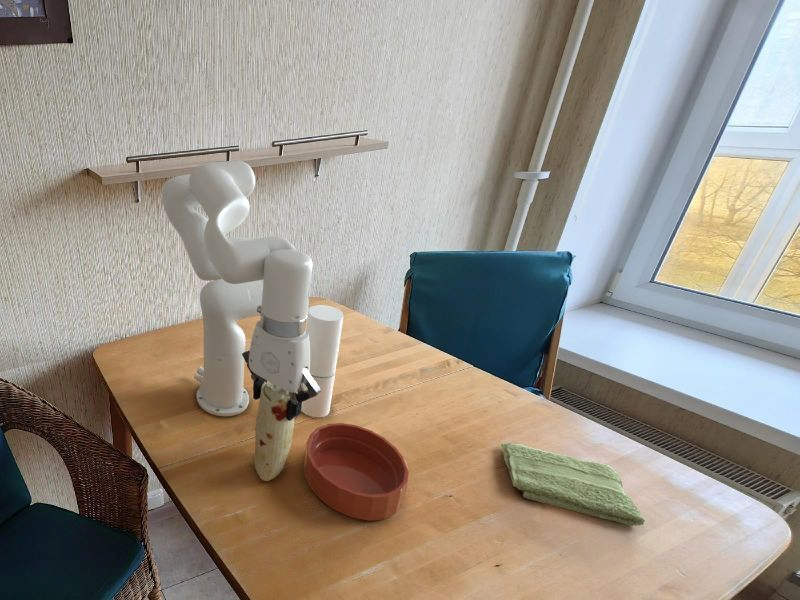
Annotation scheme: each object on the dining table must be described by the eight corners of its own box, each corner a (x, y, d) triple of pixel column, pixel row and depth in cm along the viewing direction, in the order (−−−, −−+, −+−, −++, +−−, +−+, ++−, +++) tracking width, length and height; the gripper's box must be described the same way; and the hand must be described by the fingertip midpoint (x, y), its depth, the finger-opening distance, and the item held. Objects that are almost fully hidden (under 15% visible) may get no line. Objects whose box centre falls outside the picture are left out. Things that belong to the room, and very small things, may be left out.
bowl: (285, 476, 82) (288, 452, 80) (332, 433, 92) (336, 411, 90) (375, 542, 70) (381, 516, 68) (418, 484, 80) (424, 460, 78)
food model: (278, 493, 79) (288, 406, 72) (244, 477, 82) (251, 392, 75) (294, 457, 86) (304, 375, 79) (262, 444, 90) (270, 364, 83)
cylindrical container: (329, 400, 102) (342, 307, 93) (330, 420, 96) (344, 322, 87) (298, 394, 104) (308, 303, 96) (296, 413, 98) (307, 318, 89)
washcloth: (496, 446, 88) (500, 434, 87) (610, 476, 80) (617, 463, 79) (511, 496, 77) (516, 483, 76) (646, 536, 70) (654, 522, 68)
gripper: (229, 310, 77) (226, 392, 83) (317, 351, 64) (305, 443, 71) (256, 298, 81) (251, 376, 87) (342, 333, 69) (329, 421, 75)
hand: (275, 405), depth 79 cm, fingers closed on food model, 6 cm apart
